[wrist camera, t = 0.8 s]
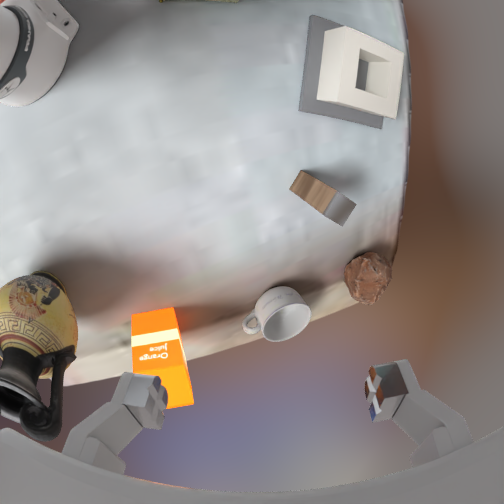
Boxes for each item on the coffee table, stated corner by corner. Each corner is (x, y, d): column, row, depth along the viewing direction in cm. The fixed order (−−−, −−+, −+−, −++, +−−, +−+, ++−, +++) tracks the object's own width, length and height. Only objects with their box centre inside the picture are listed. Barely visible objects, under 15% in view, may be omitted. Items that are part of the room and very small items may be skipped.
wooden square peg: (289, 189, 49) (325, 216, 39) (300, 170, 48) (339, 192, 38) (305, 198, 51) (342, 226, 41) (316, 180, 50) (356, 204, 40)
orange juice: (131, 314, 51) (134, 401, 35) (173, 306, 54) (190, 392, 37) (141, 340, 55) (149, 422, 39) (180, 333, 58) (198, 413, 41)
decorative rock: (345, 245, 60) (372, 269, 52) (381, 239, 63) (408, 261, 55) (333, 292, 67) (356, 318, 59) (368, 283, 70) (391, 307, 62)
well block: (298, 110, 42) (320, 114, 36) (310, 16, 33) (333, 7, 27) (377, 128, 48) (402, 135, 42) (387, 47, 39) (413, 46, 33)
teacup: (301, 277, 60) (318, 300, 54) (289, 315, 66) (304, 339, 59) (238, 281, 56) (251, 308, 49) (232, 322, 61) (243, 349, 54)
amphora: (83, 254, 42) (47, 413, 18) (91, 325, 49) (85, 465, 25) (1, 248, 35) (-69, 379, 11) (19, 318, 43) (-12, 444, 18)
